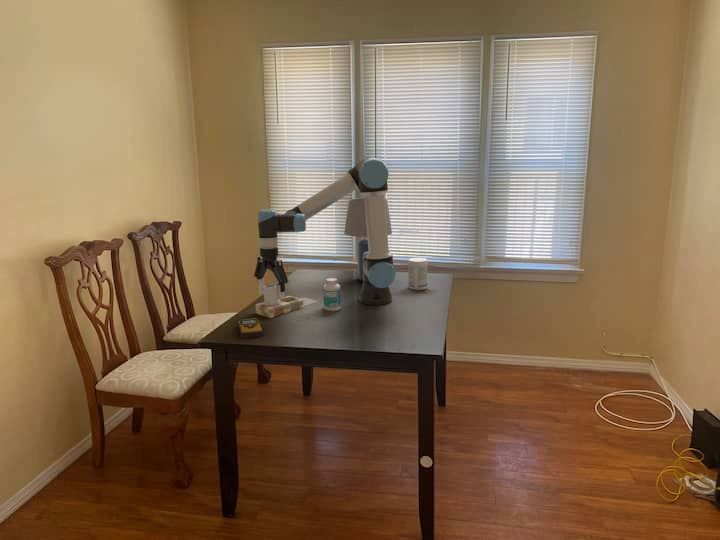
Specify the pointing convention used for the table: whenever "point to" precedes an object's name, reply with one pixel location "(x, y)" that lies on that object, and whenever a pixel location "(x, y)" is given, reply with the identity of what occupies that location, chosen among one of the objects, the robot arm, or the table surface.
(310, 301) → the mat
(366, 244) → the lamp
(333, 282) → the pill bottle
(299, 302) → the socket block
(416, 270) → the supplement tub
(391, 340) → the table surface
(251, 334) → the electronic device
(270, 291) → the plug
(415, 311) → the table surface
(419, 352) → the table surface
